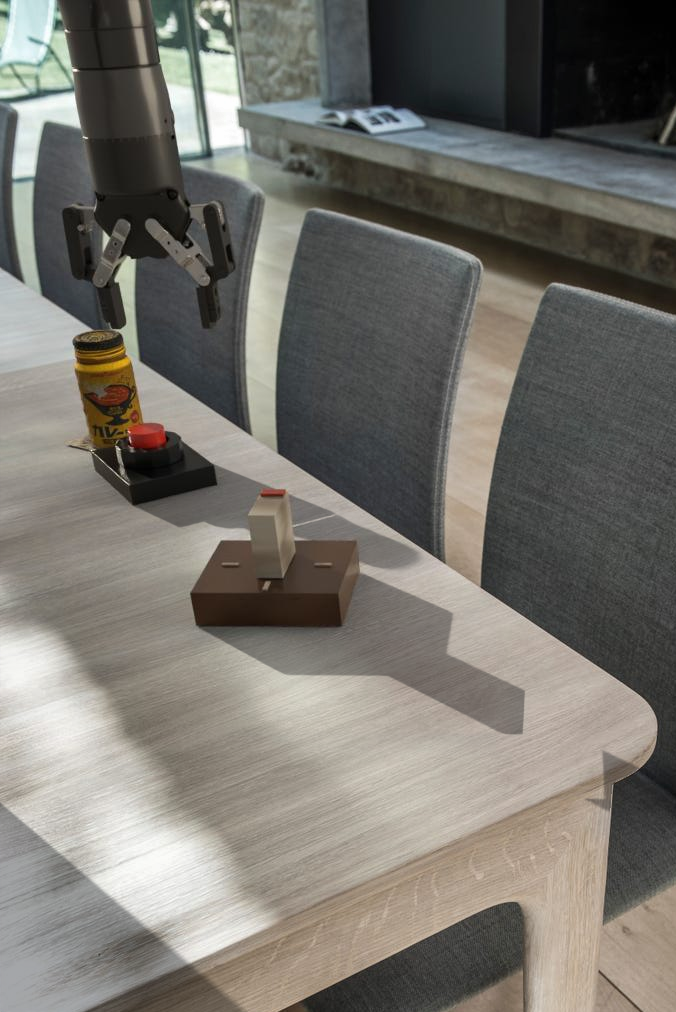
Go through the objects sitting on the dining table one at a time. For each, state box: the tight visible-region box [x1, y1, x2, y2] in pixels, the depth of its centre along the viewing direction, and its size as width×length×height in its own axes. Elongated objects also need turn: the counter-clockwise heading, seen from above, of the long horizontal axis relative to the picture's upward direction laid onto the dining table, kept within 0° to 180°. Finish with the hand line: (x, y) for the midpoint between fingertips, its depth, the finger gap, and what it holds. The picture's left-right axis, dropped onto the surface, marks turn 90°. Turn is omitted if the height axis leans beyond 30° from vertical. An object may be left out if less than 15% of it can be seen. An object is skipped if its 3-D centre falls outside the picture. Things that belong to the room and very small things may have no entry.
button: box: [128, 422, 167, 448], centre depth 118 cm, size 4×4×2 cm
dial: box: [247, 488, 296, 578], centre depth 94 cm, size 5×2×6 cm, turn 176°
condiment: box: [64, 329, 144, 452], centre depth 127 cm, size 7×8×12 cm
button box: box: [90, 430, 218, 506], centre depth 120 cm, size 12×9×4 cm
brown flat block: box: [189, 539, 361, 627], centre depth 96 cm, size 12×10×3 cm
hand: (164, 327), depth 104 cm, fingers open, 8 cm apart
